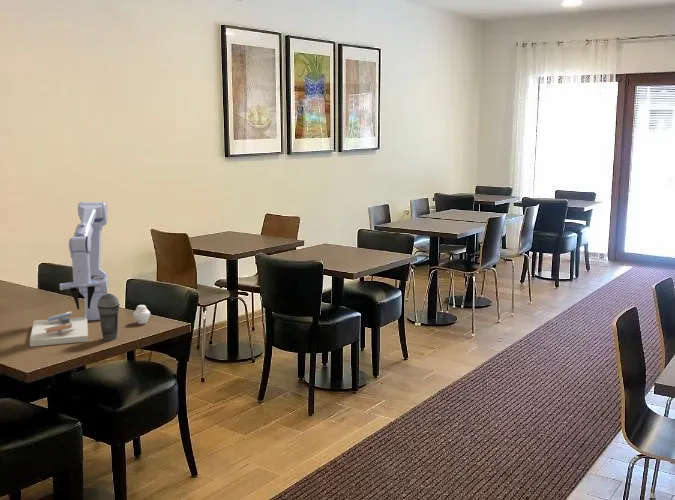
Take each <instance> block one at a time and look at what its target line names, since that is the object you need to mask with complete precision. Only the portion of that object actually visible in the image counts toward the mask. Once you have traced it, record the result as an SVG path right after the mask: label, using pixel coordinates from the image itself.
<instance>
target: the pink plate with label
mask: <svg viewBox="0 0 675 500" xmlns="http://www.w3.org/2000/svg"><path fill="white" fill-rule="evenodd" d="M71 327H72V323H71V322H70V323H66V324H62V325H58V326H54V327H50V328H46V332H47V333H51V332H55V331H59V330H63V329H67V328H71Z"/></svg>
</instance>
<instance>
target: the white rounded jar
mask: <svg viewBox="0 0 675 500" xmlns="http://www.w3.org/2000/svg"><path fill="white" fill-rule="evenodd" d="M132 313H133V314H132V316H133V318H134V321H136V323H137V324H138V325H145V324H147V323H148V321H149V318H150V316H151V311H150V310H149V309H148V308H147V306H146V305H145V304H139V305H137V306H136V309H135V310H134V312H132Z"/></svg>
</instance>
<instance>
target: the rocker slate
mask: <svg viewBox="0 0 675 500" xmlns="http://www.w3.org/2000/svg"><path fill="white" fill-rule="evenodd" d="M72 316H73V311H72V310H71V311H67V312H63V313H58V314H54V315H49V316H48V317H47V320H48V321H52V320H57V319H61V318H66V317H69V318H70V317H72Z"/></svg>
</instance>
